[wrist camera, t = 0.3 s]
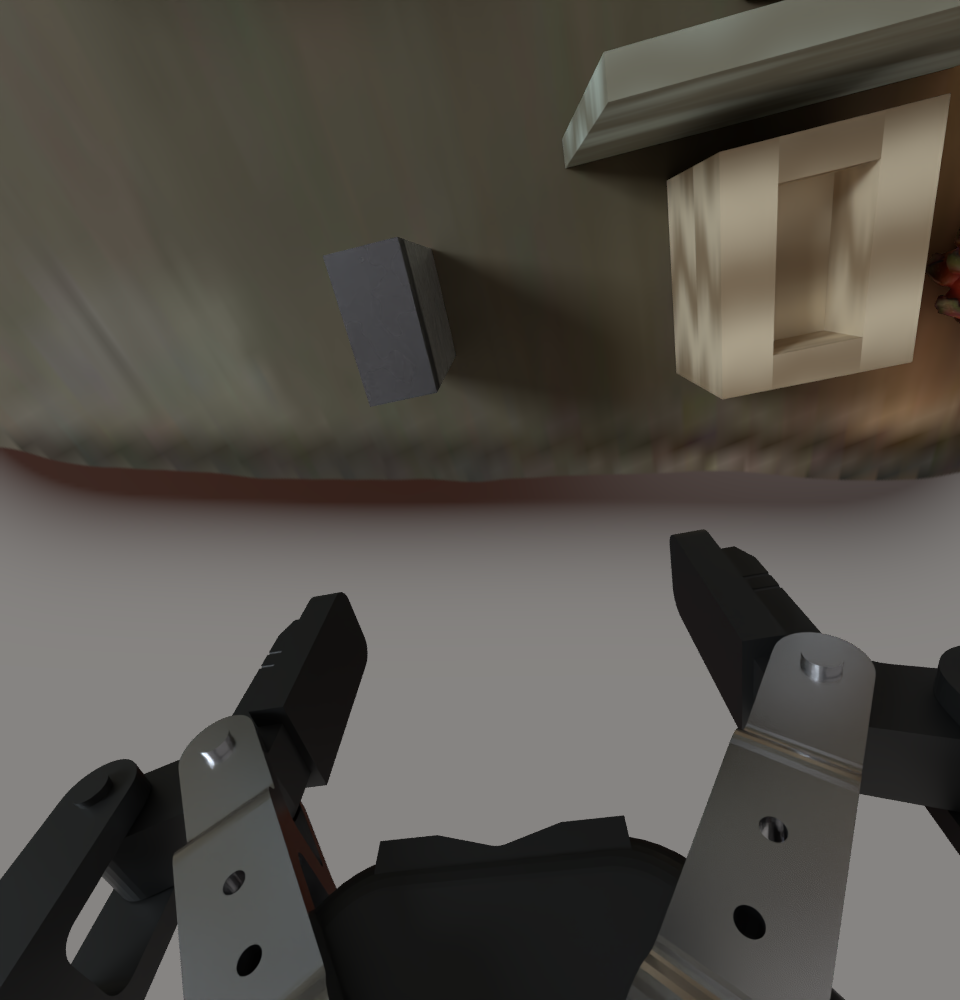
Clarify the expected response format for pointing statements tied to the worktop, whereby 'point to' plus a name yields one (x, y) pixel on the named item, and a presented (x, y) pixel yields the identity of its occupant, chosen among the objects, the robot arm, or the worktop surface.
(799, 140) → the small shelf
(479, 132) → the worktop surface
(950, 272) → the dragon fruit
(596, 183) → the worktop surface
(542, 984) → the robot arm
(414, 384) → the brushed steel bar
